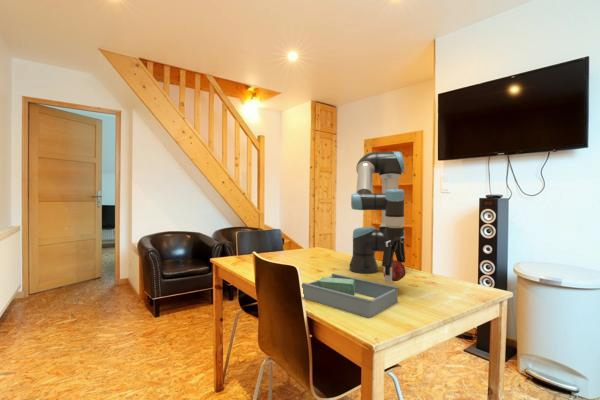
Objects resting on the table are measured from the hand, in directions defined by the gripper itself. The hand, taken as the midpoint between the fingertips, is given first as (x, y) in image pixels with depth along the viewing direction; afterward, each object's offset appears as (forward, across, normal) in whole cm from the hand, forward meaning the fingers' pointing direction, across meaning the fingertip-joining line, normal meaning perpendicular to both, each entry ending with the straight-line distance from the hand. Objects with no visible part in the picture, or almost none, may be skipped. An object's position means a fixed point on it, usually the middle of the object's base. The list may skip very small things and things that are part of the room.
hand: (393, 279), depth 130 cm
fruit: (0, 0, 0) cm, 0 cm away
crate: (+5, +21, -9) cm, 23 cm away
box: (+5, +22, -13) cm, 26 cm away
